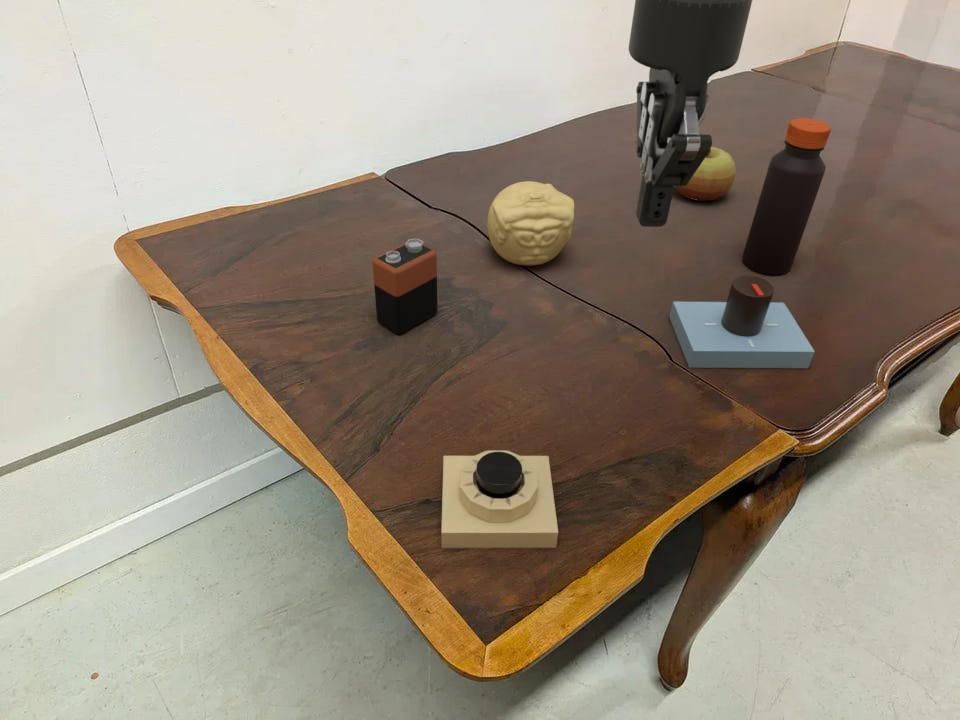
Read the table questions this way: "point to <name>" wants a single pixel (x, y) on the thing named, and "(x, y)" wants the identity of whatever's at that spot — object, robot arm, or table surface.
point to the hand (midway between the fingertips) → (650, 221)
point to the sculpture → (530, 222)
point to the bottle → (787, 198)
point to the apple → (711, 177)
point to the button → (498, 474)
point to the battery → (405, 285)
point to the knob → (747, 305)
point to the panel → (739, 338)
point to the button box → (498, 507)
